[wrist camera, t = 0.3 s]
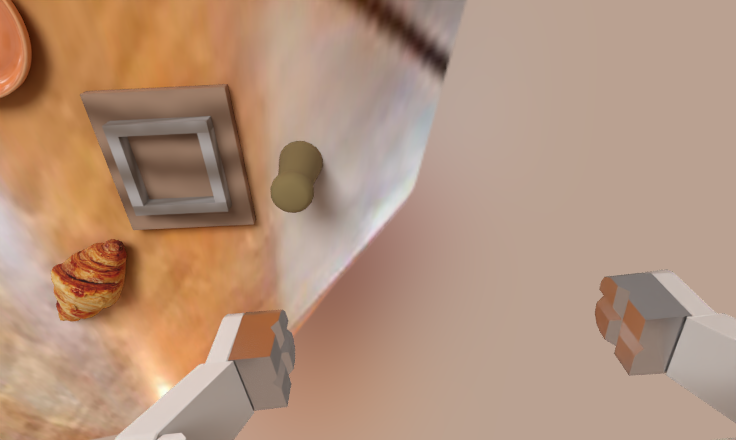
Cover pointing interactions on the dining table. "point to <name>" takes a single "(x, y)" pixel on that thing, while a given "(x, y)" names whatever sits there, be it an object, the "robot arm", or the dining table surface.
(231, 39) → the dining table surface
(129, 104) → the square frame holder
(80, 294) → the croissant
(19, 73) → the saucer
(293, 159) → the olive pepper mill
